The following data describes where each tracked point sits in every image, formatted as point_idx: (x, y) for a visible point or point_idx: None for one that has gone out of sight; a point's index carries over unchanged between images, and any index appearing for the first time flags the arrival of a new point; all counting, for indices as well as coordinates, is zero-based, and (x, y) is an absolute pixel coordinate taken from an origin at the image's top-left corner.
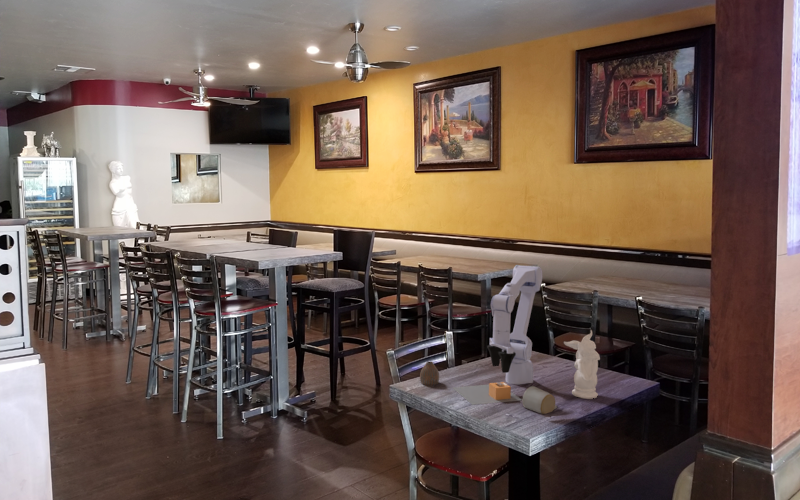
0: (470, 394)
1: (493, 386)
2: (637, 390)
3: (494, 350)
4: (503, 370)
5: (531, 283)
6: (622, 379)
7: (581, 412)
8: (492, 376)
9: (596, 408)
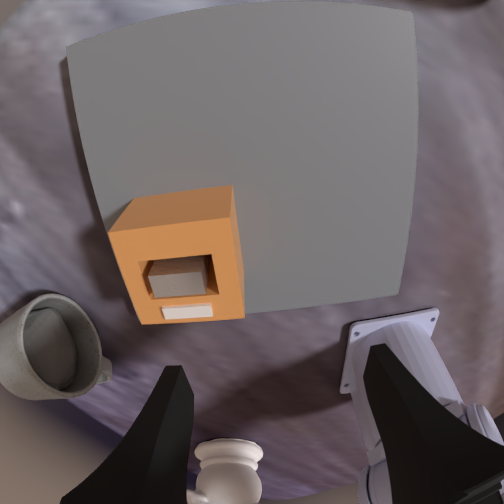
0: (256, 65)
1: (147, 226)
2: None
3: (418, 481)
4: (160, 382)
5: None
6: (313, 487)
7: (89, 406)
8: (495, 291)
9: None
